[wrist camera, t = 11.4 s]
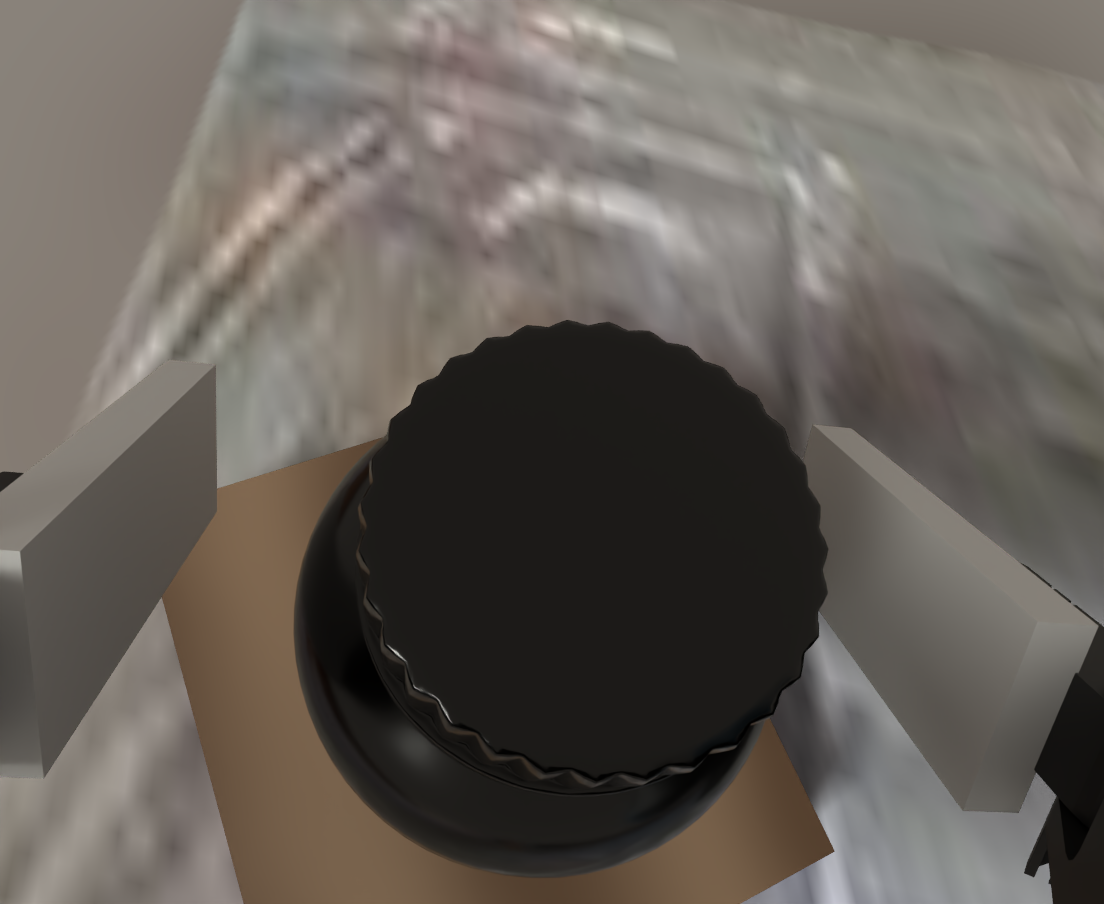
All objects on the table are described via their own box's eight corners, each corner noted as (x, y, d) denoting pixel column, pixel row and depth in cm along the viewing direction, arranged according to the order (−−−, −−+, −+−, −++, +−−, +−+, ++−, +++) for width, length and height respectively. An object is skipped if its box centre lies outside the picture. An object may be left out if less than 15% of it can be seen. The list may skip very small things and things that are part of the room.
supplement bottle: (271, 702, 18) (61, 533, 7) (478, 487, 21) (551, 132, 10) (509, 927, 17) (679, 1118, 6) (694, 670, 20) (1035, 494, 9)
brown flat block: (579, 417, 26) (599, 370, 23) (780, 846, 22) (834, 851, 19) (172, 550, 22) (139, 512, 19) (322, 1092, 18) (307, 1142, 15)
